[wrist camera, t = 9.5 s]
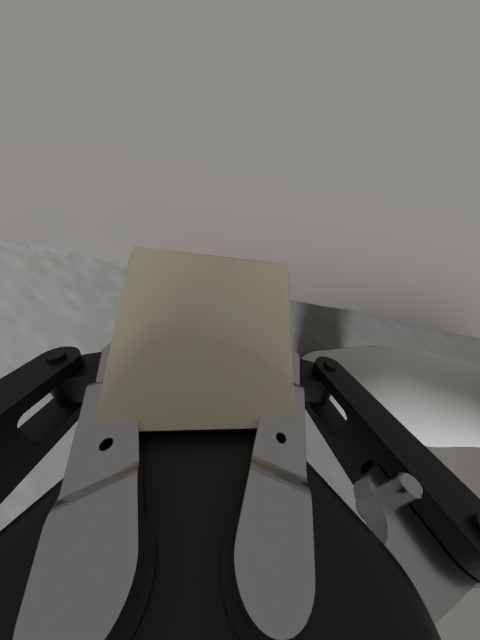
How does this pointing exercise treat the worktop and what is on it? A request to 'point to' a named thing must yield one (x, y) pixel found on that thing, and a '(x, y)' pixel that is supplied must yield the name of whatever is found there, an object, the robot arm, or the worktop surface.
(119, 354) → the tea tin
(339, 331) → the worktop surface
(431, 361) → the milk bottle
